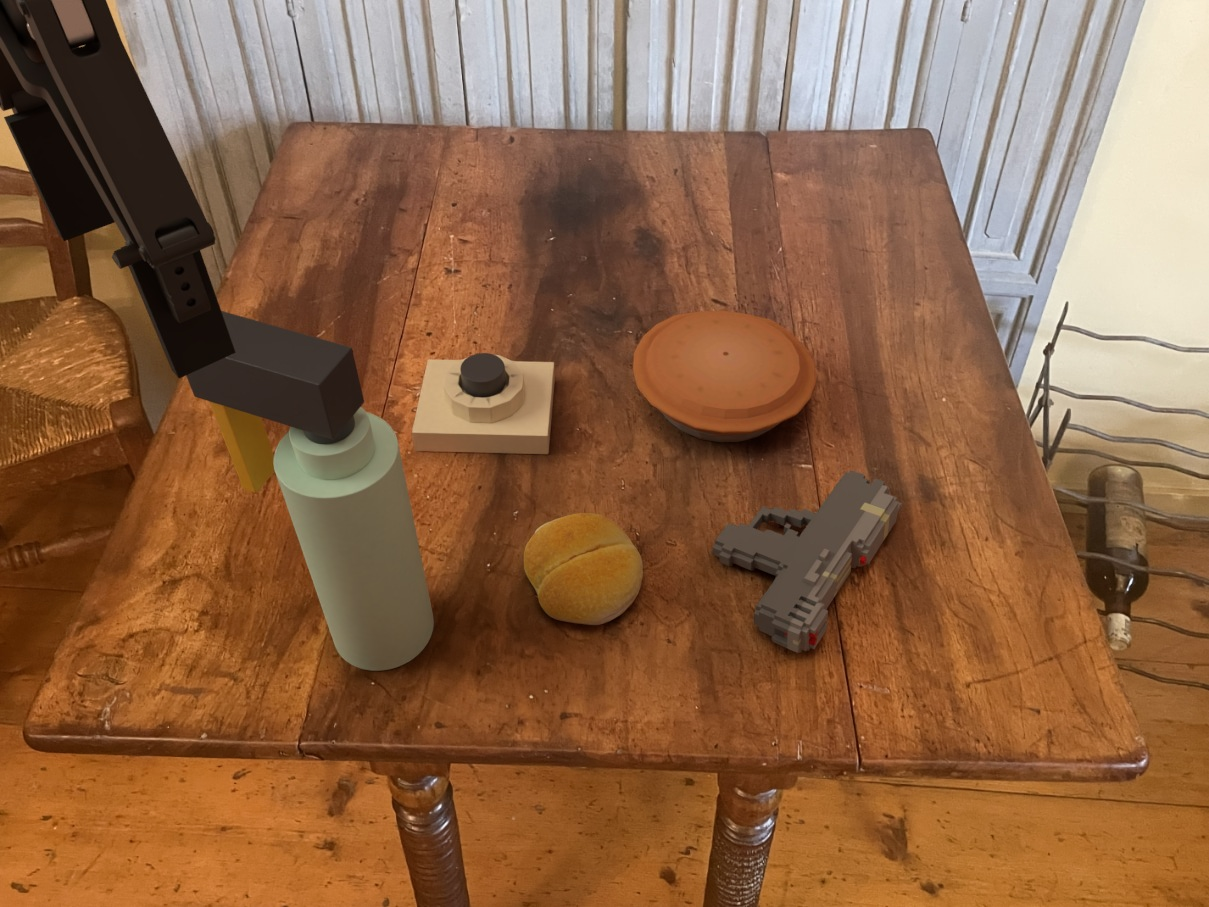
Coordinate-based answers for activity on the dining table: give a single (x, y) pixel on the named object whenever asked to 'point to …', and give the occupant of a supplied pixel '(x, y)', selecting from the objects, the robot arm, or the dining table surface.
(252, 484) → the strip
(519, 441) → the timer
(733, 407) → the pie
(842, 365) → the dining table surface
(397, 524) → the spray bottle
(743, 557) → the toy gun
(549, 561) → the bread roll
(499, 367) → the timer button
